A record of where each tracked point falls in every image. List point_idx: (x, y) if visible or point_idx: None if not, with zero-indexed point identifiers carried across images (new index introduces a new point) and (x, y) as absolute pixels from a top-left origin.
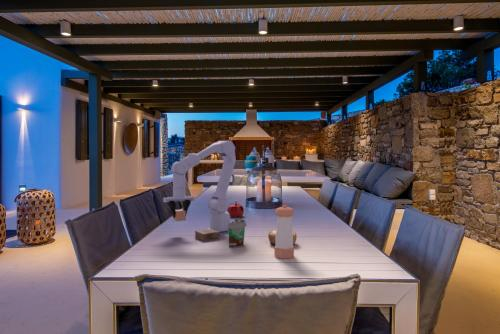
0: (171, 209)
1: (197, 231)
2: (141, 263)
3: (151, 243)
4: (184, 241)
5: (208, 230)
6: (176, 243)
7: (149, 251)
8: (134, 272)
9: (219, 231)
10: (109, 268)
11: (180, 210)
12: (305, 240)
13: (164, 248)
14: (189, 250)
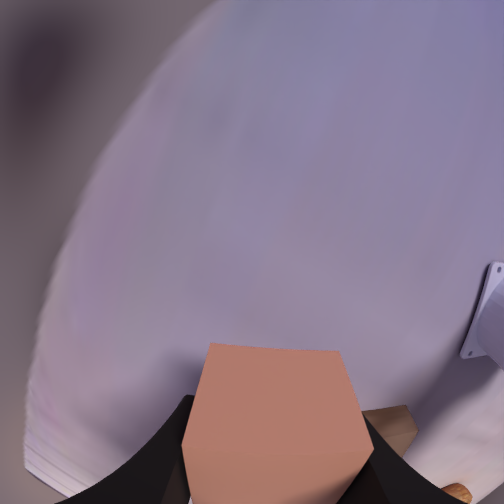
0: (139, 472)
1: None
2: (74, 483)
3: (75, 389)
4: None
5: None
6: None
7: (78, 450)
8: (71, 495)
9: (482, 354)
10: (29, 460)
11: (279, 501)
12: (482, 477)
13: (122, 459)
14: None
